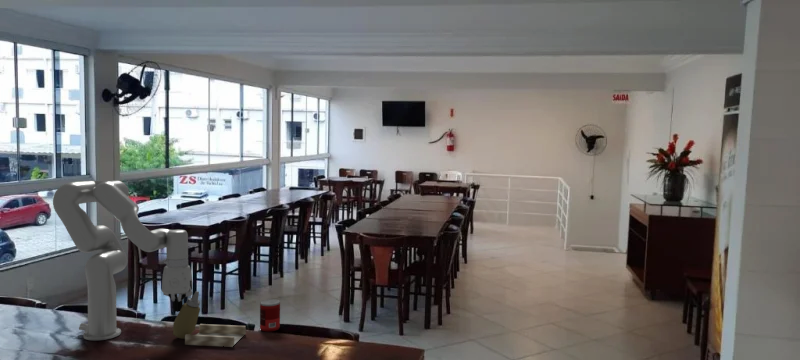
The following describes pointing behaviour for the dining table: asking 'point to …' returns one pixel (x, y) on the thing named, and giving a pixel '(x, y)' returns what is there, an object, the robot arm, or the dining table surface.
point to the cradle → (216, 335)
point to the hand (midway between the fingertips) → (178, 310)
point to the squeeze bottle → (187, 317)
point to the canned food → (269, 315)
